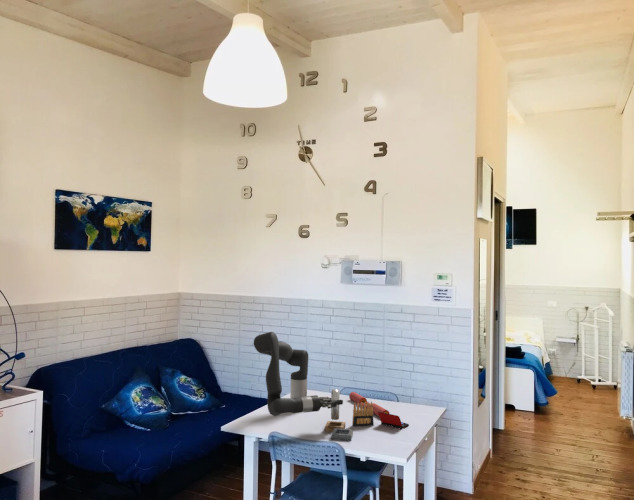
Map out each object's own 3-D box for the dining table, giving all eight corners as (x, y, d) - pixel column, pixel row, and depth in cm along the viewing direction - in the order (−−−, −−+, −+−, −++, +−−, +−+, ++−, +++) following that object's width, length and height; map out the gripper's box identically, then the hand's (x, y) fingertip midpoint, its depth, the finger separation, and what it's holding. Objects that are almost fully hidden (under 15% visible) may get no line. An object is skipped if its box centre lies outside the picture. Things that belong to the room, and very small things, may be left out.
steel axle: (331, 417, 270) (332, 389, 270) (339, 417, 269) (340, 389, 269) (330, 419, 266) (330, 390, 266) (338, 420, 265) (339, 391, 266)
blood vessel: (389, 419, 287) (389, 409, 287) (381, 419, 285) (381, 410, 285) (356, 399, 326) (356, 391, 326) (348, 400, 325) (349, 392, 325)
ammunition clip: (353, 426, 272) (353, 402, 272) (352, 425, 274) (352, 401, 274) (373, 425, 274) (373, 401, 275) (372, 424, 276) (372, 400, 276)
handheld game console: (409, 426, 275) (409, 411, 275) (398, 431, 266) (398, 416, 266) (388, 421, 282) (388, 407, 283) (377, 426, 274) (377, 411, 274)
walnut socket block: (327, 425, 273) (327, 420, 273) (345, 427, 271) (345, 422, 271) (324, 431, 264) (324, 426, 264) (343, 432, 262) (343, 427, 262)
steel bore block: (334, 433, 261) (334, 428, 261) (352, 434, 260) (353, 429, 260) (331, 439, 252) (331, 434, 252) (350, 440, 251) (351, 435, 251)
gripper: (315, 399, 255) (347, 396, 263) (303, 392, 268) (334, 390, 275) (315, 415, 255) (347, 412, 262) (303, 408, 268) (333, 405, 275)
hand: (340, 400), depth 269 cm, fingers closed on steel axle, 4 cm apart
